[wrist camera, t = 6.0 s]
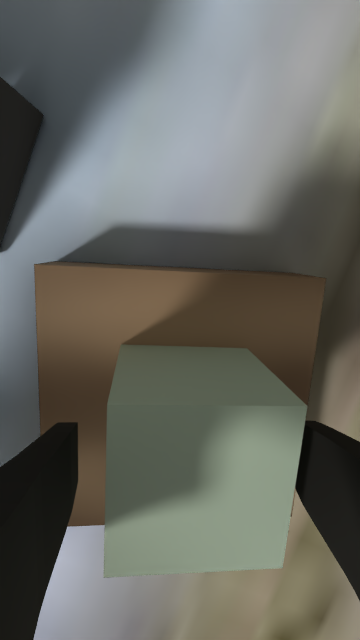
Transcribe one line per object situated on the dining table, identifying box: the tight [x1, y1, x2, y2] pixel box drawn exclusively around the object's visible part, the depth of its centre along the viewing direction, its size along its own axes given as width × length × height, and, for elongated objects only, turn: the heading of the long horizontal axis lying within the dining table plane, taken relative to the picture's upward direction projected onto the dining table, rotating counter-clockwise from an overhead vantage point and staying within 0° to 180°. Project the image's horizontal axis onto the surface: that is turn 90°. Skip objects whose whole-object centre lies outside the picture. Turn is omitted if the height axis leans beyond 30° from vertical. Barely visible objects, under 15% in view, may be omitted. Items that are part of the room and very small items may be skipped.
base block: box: [34, 261, 326, 526], centre depth 15 cm, size 11×11×3 cm
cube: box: [104, 344, 307, 578], centre depth 11 cm, size 5×5×5 cm
